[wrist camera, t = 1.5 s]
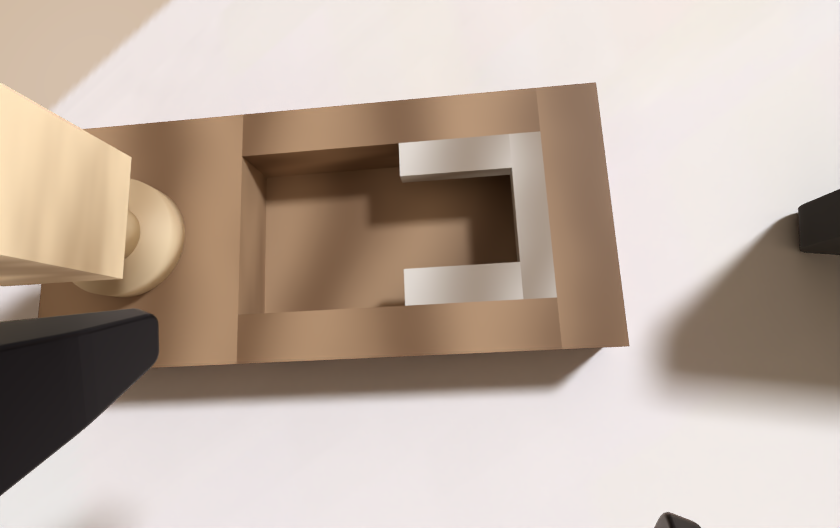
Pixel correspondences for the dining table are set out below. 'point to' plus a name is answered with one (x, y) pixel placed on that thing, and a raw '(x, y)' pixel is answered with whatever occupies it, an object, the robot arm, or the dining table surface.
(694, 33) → the dining table surface
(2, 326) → the robot arm
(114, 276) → the peg
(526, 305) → the keyhole board
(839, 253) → the nameplate
